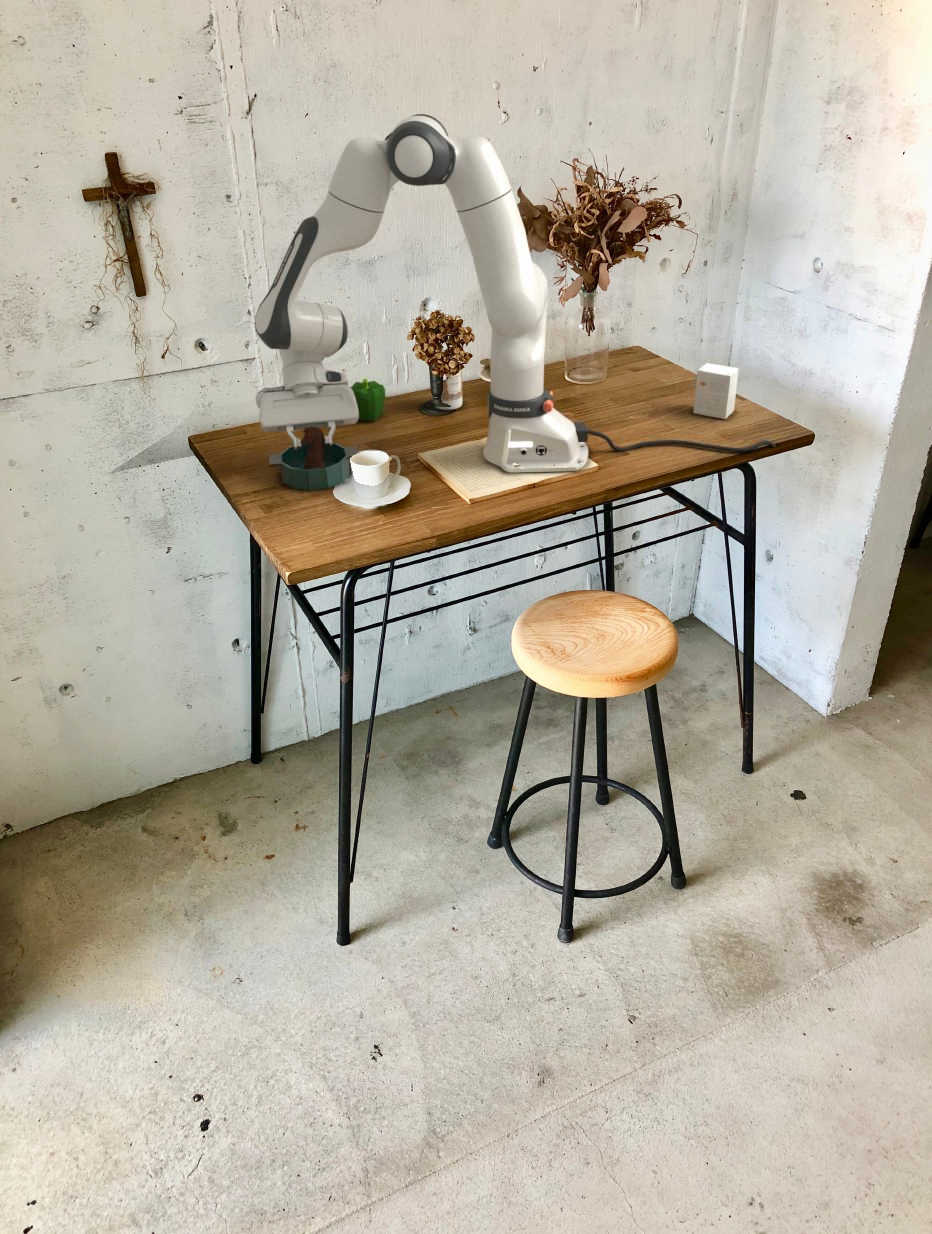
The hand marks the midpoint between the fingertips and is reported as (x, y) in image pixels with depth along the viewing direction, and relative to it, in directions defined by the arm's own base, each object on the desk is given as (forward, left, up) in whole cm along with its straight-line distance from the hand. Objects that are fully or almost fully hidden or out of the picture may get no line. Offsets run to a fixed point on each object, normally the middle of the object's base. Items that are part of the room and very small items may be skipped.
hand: (313, 446), depth 208 cm
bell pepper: (-3, -32, -7) cm, 32 cm away
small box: (-82, -46, -7) cm, 94 cm away
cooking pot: (0, -1, -7) cm, 7 cm away
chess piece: (0, -1, -6) cm, 6 cm away
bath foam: (-20, -42, -7) cm, 46 cm away
